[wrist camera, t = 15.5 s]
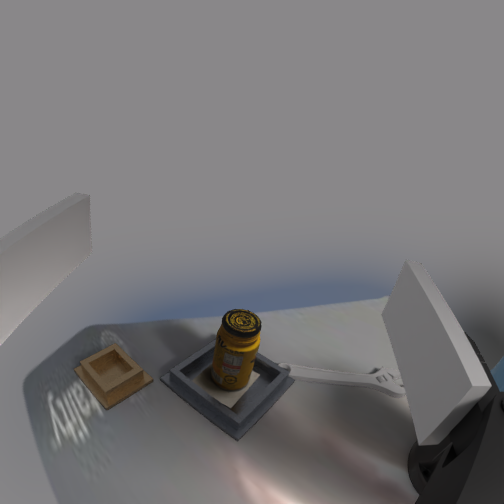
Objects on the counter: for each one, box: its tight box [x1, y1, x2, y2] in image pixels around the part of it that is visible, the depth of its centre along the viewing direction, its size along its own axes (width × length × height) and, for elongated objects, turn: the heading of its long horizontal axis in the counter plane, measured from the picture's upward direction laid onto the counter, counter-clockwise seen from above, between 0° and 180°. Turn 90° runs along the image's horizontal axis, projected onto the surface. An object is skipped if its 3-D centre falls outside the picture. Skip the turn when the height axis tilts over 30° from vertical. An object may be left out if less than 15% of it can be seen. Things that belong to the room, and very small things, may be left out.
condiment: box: [192, 309, 261, 408], centre depth 44 cm, size 7×8×12 cm
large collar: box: [160, 339, 295, 441], centre depth 46 cm, size 15×15×3 cm
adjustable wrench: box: [278, 363, 406, 398], centre depth 51 cm, size 25×6×2 cm, turn 80°
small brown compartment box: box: [74, 343, 153, 410], centre depth 42 cm, size 9×9×3 cm
